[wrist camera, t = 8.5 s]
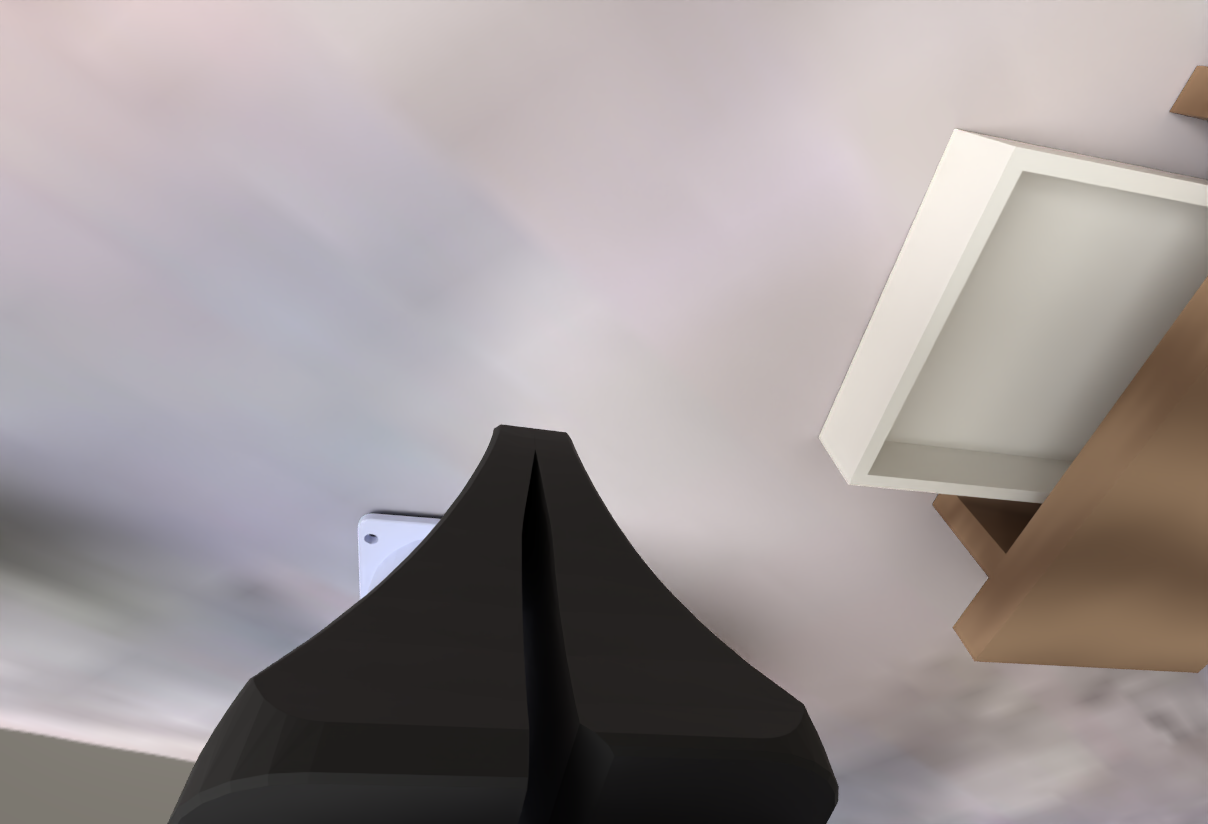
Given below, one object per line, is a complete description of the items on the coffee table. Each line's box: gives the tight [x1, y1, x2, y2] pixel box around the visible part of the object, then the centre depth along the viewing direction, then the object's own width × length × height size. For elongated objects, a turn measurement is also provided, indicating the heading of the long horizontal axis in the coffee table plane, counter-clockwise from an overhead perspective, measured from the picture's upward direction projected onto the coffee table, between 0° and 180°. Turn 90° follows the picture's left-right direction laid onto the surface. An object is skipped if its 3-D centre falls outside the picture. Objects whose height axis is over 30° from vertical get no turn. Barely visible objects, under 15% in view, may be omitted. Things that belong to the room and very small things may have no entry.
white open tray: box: [819, 129, 1208, 504], centre depth 21 cm, size 11×15×3 cm
